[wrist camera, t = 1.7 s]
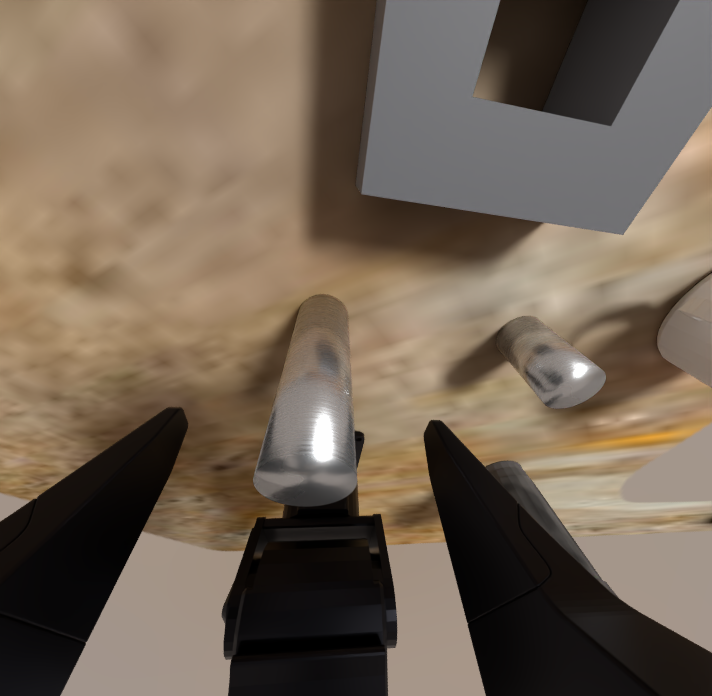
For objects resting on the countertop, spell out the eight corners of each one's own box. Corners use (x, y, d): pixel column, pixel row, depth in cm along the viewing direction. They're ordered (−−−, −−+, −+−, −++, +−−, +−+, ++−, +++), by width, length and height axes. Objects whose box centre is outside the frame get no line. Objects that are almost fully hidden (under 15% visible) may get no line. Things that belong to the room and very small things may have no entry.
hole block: (552, 216, 13) (623, 234, 10) (355, 185, 12) (361, 193, 8) (758, -178, 7) (1100, -456, 4) (413, -319, 6) (500, -887, 3)
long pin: (345, 339, 17) (350, 506, 9) (298, 335, 16) (257, 506, 8) (351, 297, 15) (364, 456, 7) (298, 291, 15) (247, 452, 7)
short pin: (527, 355, 18) (580, 410, 14) (488, 351, 18) (531, 407, 14) (551, 318, 17) (619, 368, 13) (508, 313, 16) (564, 364, 12)
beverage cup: (463, 462, 26) (661, 944, 10) (538, 446, 25) (890, 953, 9) (466, 493, 30) (611, 870, 14) (531, 481, 29) (764, 870, 13)
